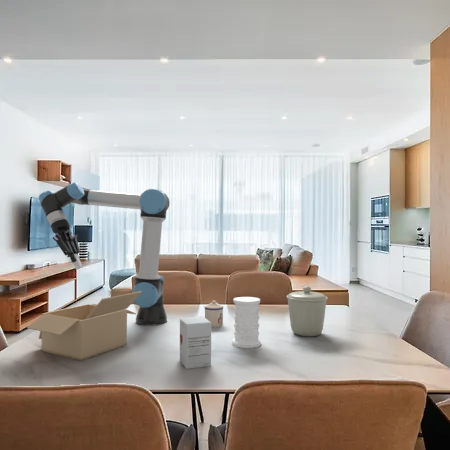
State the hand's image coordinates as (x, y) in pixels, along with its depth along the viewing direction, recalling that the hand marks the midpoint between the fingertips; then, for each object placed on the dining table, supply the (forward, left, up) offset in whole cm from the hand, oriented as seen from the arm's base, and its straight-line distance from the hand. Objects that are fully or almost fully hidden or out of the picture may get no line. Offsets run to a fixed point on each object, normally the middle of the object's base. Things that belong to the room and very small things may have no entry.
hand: (79, 268), depth 170 cm
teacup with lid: (-62, -5, -29) cm, 68 cm away
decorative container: (-70, +28, -29) cm, 80 cm away
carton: (-5, +22, -29) cm, 36 cm away
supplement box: (-47, +47, -29) cm, 72 cm away
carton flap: (-15, +30, -14) cm, 37 cm away
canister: (-100, +18, -29) cm, 105 cm away
